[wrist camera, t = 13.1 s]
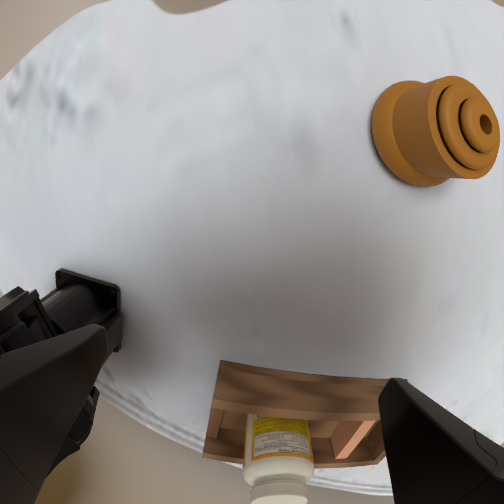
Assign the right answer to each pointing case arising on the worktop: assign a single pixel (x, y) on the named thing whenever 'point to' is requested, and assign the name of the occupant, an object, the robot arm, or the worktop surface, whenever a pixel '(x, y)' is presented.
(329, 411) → the pusher lane
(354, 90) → the worktop surface
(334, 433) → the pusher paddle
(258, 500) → the supplement bottle
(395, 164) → the ornamental finial
